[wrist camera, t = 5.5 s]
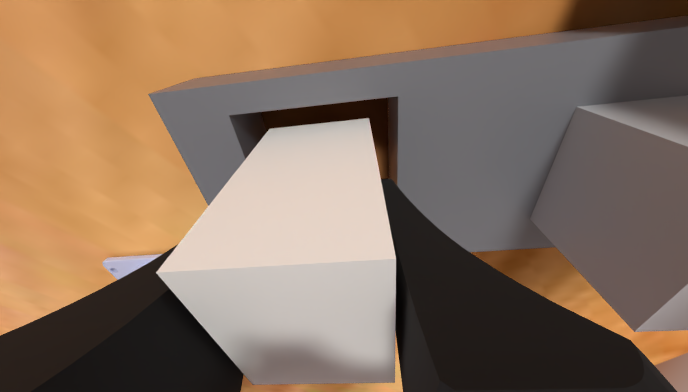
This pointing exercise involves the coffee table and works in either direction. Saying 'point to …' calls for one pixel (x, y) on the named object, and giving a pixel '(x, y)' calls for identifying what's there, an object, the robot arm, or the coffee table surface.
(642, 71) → the power strip
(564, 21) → the coffee table surface
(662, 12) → the coffee table surface
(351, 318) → the plug
